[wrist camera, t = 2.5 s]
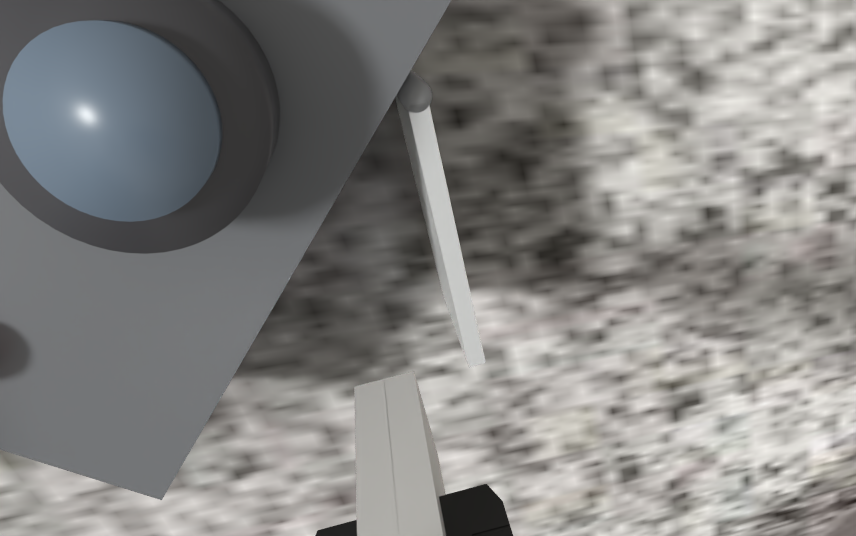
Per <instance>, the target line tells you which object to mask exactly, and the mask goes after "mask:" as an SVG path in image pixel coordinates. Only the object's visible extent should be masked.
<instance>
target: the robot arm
mask: <svg viewBox="0 0 856 536" xmlns="http://www.w3.org/2000/svg"><path fill="white" fill-rule="evenodd" d="M354 393H355V449H356V505H357V520H355V521H351V522H347V523H344V524H340V525H336V526H332V527H329V528H325V529H321V530H318V531H317V533H316V535H315V536H513V534H512V531H511V528H510V524H509V521H508V518H507V514H506V511H505V508H504V505H503V501H502V500H501V499H500V498H499V497H498V496H497V495H496V494H495V493H494V492H493V490H492V489H491V488H490V487H489V486H488V485H487V484H484V485H481V486H477V487H473V488H469V489H466V490H462V491H458V492H454V493H451V494H447V495H446V494H445V489H444V484H443V479H442V474H441V469H440V464H439V459H438V454H437V450H436V447H435V443H434V440H433V436H432V433H431V429H430V426H429V422H428V419H427V415H426V412H425V408H424V405H423V401H422V398H421V394H420V391H419V387H418V384H417V380H416V377H415V373H414V371H412V372H408V373H404V374H400V375H397V376H393V377H389V378H385V379H381V380H378V381H374V382H370V383H366V384H362V385H359V386H355V387H354Z"/></svg>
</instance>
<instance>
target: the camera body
mask: <svg viewBox="0 0 856 536" xmlns="http://www.w3.org/2000/svg"><path fill="white" fill-rule="evenodd" d="M450 2H451V0H0V450H3V451H6V452H10V453H13V454H16V455H19V456H22V457H26V458H29V459H32V460H35V461H38V462H42V463H45V464H48V465H51V466H54V467H58V468H61V469H64V470H67V471H70V472H74V473H77V474H80V475H83V476H86V477H90V478H93V479H96V480H99V481H102V482H106V483H109V484H112V485H115V486H118V487H122V488H125V489H128V490H131V491H134V492H137V493H141V494H144V495H147V496H150V497H153V498H157V499H160V500H162V498H163V497H164V495H165V493H166V492H167V490H168V488H169V486H170V485H171V483H172V481H173V480H174V478H175V476H176V474H177V473H178V471H179V469H180V467H181V466H182V464H183V462H184V461H185V459H186V457H187V455H188V454H189V452H190V450H191V448H192V447H193V445H194V443H195V442H196V440H197V438H198V436H199V435H200V433H201V431H202V429H203V428H204V426H205V424H206V423H207V421H208V419H209V417H210V416H211V414H212V412H213V411H214V409H215V407H216V405H217V404H218V402H219V400H220V398H221V397H222V395H223V393H224V392H225V390H226V388H227V386H228V385H229V383H230V381H231V379H232V378H233V376H234V374H235V373H236V371H237V369H238V367H239V366H240V364H241V362H242V361H243V359H244V357H245V355H246V354H247V352H248V350H249V348H250V347H251V345H252V343H253V342H254V340H255V338H256V336H257V335H258V333H259V331H260V329H261V328H262V326H263V324H264V323H265V321H266V319H267V317H268V316H269V314H270V312H271V310H272V309H273V307H274V305H275V304H276V302H277V300H278V298H279V297H280V295H281V293H282V292H283V290H284V288H285V286H286V285H287V283H288V281H289V279H290V278H291V276H292V274H293V273H294V271H295V269H296V267H297V266H298V264H299V262H300V260H301V259H302V257H303V255H304V254H305V252H306V250H307V248H308V247H309V245H310V243H311V241H312V240H313V238H314V236H315V235H316V233H317V231H318V229H319V228H320V226H321V224H322V223H323V221H324V219H325V217H326V216H327V214H328V212H329V210H330V209H331V207H332V205H333V204H334V202H335V200H336V198H337V197H338V195H339V193H340V191H341V190H342V188H343V186H344V185H345V183H346V181H347V179H348V178H349V176H350V174H351V172H352V171H353V169H354V167H355V166H356V164H357V162H358V160H359V159H360V157H361V155H362V154H363V152H364V150H365V148H366V147H367V145H368V143H369V141H370V140H371V138H372V136H373V135H374V133H375V131H376V129H377V128H378V126H379V124H380V122H381V121H382V119H383V117H384V116H385V114H386V112H387V110H388V109H389V107H390V105H391V104H392V102H393V100H394V98H395V97H396V95H397V93H398V91H399V90H400V88H401V86H402V85H403V83H404V81H405V79H406V78H407V76H408V74H409V72H410V71H411V69H412V67H413V66H414V64H415V62H416V60H417V59H418V57H419V55H420V53H421V52H422V50H423V48H424V47H425V45H426V43H427V41H428V40H429V38H430V36H431V35H432V33H433V31H434V29H435V28H436V26H437V24H438V22H439V21H440V19H441V17H442V16H443V14H444V12H445V10H446V9H447V7H448V5H449V3H450Z"/></svg>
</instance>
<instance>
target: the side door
mask: <svg viewBox="0 0 856 536" xmlns="http://www.w3.org/2000/svg"><path fill="white" fill-rule="evenodd" d="M395 100H396V104H397V108H398V112H399V116H400V120H401V125H402V129H403V133H404V137H405V141H406V145H407V149H408V153H409V157H410V162H411V166H412V170H413V174H414V178H415V182H416V186H417V190H418V194H419V199H420V203H421V207H422V211H423V215H424V219H425V223H426V227H427V232H428V236H429V240H430V244H431V248H432V252H433V256H434V260H435V264H436V269H437V273H438V277H439V281H440V285H441V289H442V293H443V296H444V299H445V302H446V305H447V308H448V310H449V313H450V316H451V319H452V322H453V324H454V327H455V330H456V333H457V336H458V338H459V341H460V344H461V347H462V350H463V352H464V355H465V358H466V361H467V364H468V366H469V367H473V366H477V365H480V364H484V363H486V362H485V357H484V353H483V348H482V344H481V339H480V334H479V330H478V325H477V321H476V316H475V312H474V307H473V302H472V298H471V293H470V289H469V284H468V280H467V275H466V270H465V266H464V261H463V257H462V252H461V248H460V243H459V239H458V234H457V229H456V225H455V220H454V216H453V211H452V207H451V202H450V197H449V193H448V188H447V184H446V179H445V175H444V170H443V165H442V161H441V156H440V152H439V147H438V143H437V138H436V133H435V129H434V124H433V120H432V115H431V111H430V106H429V105H430V104H431V101H432V90H431V88H430V86H429V85H428V84H427V83H426V82H425V81H424V80H423V79H422V78H421V77H419V76H418V75H417V74H416V73H415V72H414V71H413V70H412V69H411V71H410V72H409V74H408V76H407V78H406V79H405V81H404V83H403V85H402V86H401V88H400V90H399V91H398V93H397V95H396V97H395Z"/></svg>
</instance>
